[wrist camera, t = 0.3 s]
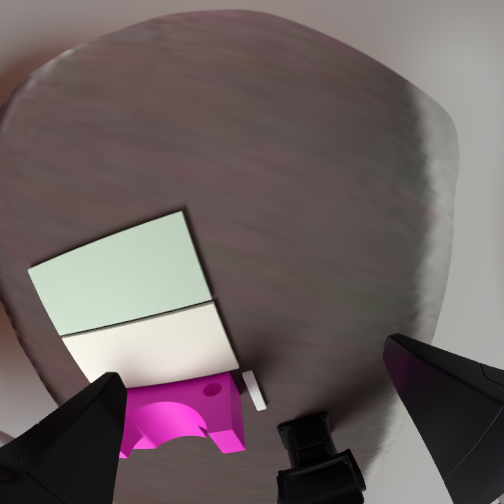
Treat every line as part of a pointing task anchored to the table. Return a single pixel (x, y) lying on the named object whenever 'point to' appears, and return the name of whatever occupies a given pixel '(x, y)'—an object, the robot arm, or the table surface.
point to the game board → (139, 307)
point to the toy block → (184, 413)
